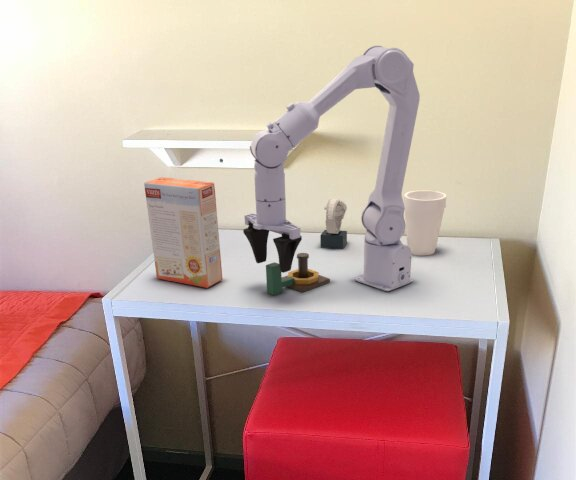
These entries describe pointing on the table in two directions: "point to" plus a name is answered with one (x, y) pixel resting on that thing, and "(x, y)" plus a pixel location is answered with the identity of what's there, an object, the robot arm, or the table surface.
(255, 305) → the table surface
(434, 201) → the foam cup
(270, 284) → the octagonal ring with handle
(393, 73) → the robot arm
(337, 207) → the bust statue
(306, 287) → the peg stand
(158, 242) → the cracker box
